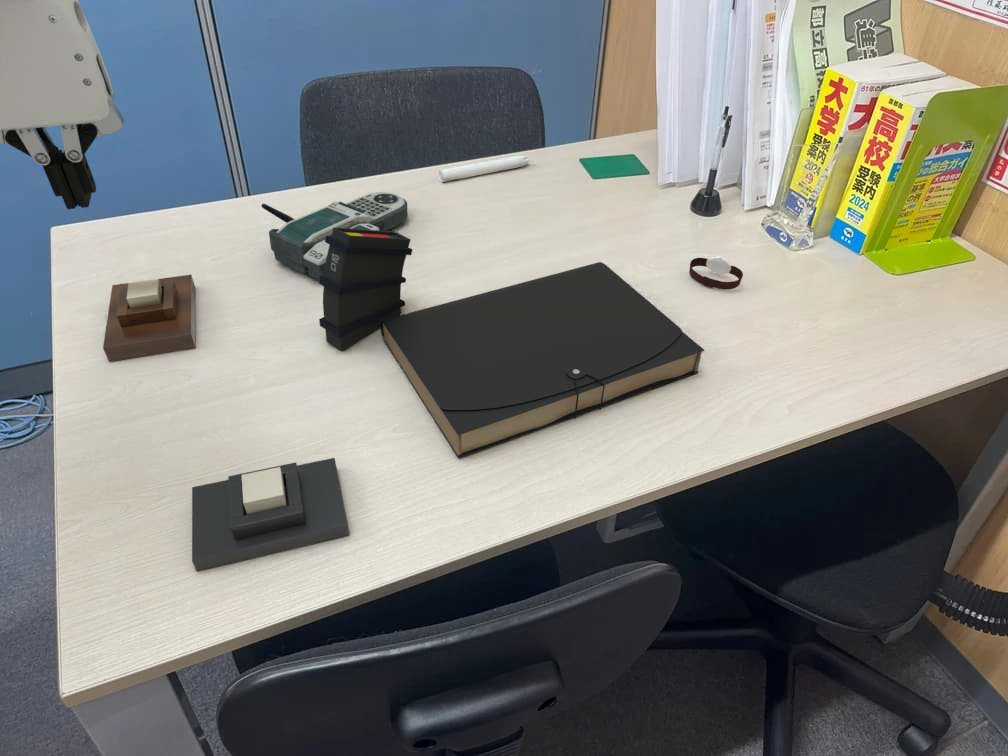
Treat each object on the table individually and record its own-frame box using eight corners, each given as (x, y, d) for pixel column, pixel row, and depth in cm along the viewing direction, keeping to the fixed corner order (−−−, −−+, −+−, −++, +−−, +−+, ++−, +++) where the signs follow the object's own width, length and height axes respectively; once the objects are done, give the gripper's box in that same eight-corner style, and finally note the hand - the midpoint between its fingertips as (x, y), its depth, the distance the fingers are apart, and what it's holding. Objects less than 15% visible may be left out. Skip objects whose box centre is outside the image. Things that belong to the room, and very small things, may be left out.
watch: (742, 280, 105) (749, 259, 103) (735, 296, 102) (741, 275, 99) (692, 266, 108) (697, 245, 105) (683, 281, 104) (688, 260, 102)
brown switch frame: (195, 348, 89) (187, 322, 87) (108, 362, 87) (97, 336, 84) (195, 287, 99) (187, 263, 96) (117, 298, 97) (107, 273, 94)
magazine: (301, 342, 88) (328, 226, 83) (376, 335, 99) (403, 231, 94) (321, 355, 86) (349, 237, 81) (395, 346, 97) (424, 241, 92)
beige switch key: (161, 305, 90) (157, 294, 89) (130, 309, 89) (126, 298, 88) (162, 289, 92) (158, 278, 91) (132, 294, 91) (128, 282, 90)
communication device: (431, 223, 115) (429, 172, 109) (324, 288, 100) (316, 232, 94) (375, 201, 120) (371, 151, 114) (265, 260, 105) (254, 205, 99)
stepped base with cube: (196, 571, 65) (186, 549, 63) (196, 497, 72) (187, 475, 69) (349, 535, 69) (345, 513, 66) (336, 468, 75) (332, 445, 73)
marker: (527, 162, 133) (527, 150, 132) (532, 166, 132) (533, 154, 130) (438, 179, 127) (438, 166, 125) (443, 184, 125) (443, 171, 124)
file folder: (458, 433, 74) (378, 312, 90) (459, 460, 76) (381, 338, 92) (706, 348, 86) (596, 255, 102) (699, 374, 89) (593, 279, 105)
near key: (247, 515, 66) (243, 503, 65) (245, 486, 69) (241, 474, 68) (286, 506, 67) (283, 494, 66) (283, 478, 70) (280, 466, 69)
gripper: (107, -55, 54) (173, 173, 66) (-125, -49, 50) (-9, 191, 62) (97, -32, 49) (171, 211, 61) (-162, -24, 45) (-28, 233, 57)
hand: (80, 200), depth 61 cm, fingers closed
